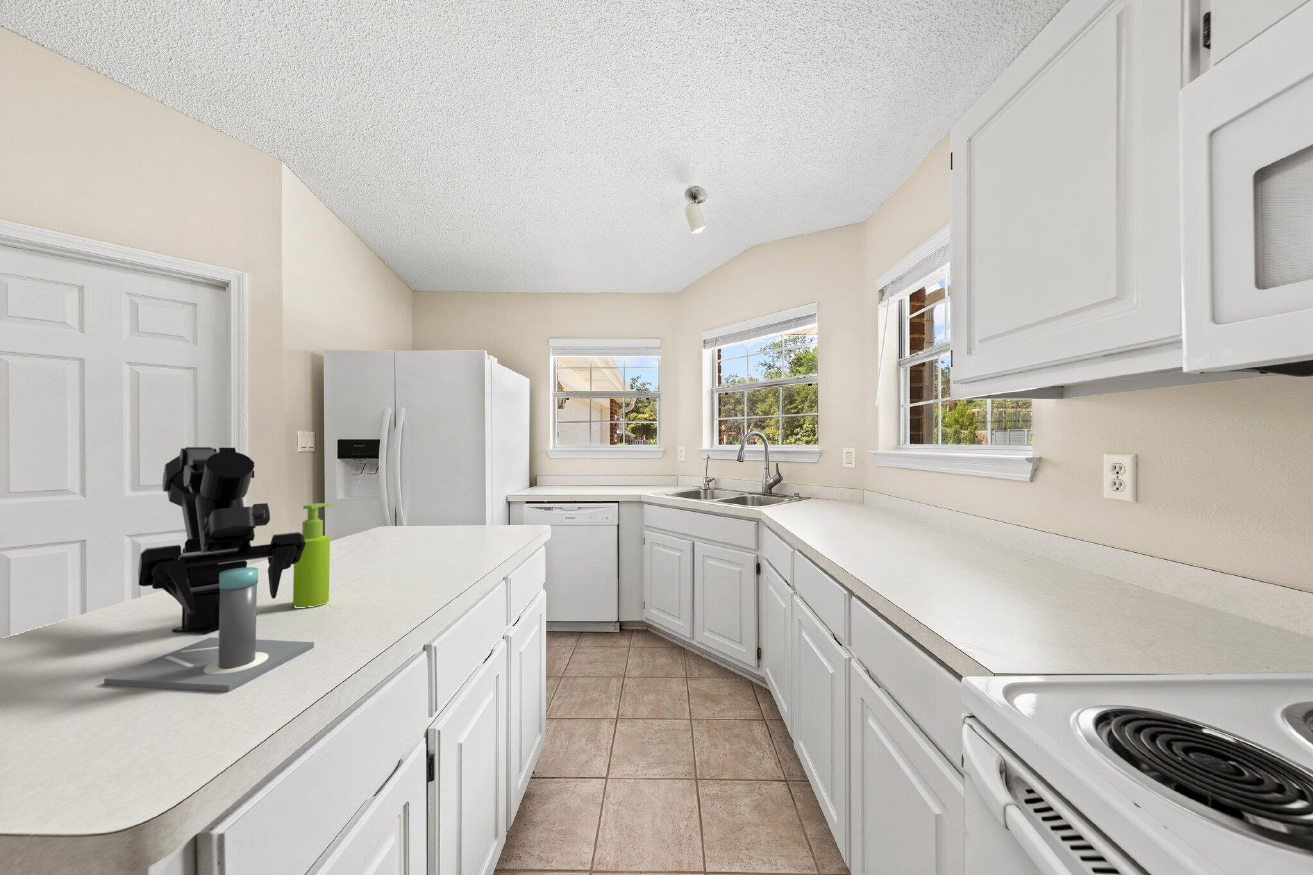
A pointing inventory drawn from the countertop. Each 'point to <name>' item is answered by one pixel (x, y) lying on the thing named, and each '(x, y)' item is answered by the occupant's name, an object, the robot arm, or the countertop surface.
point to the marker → (237, 617)
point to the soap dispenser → (312, 562)
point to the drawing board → (207, 667)
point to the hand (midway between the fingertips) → (235, 604)
